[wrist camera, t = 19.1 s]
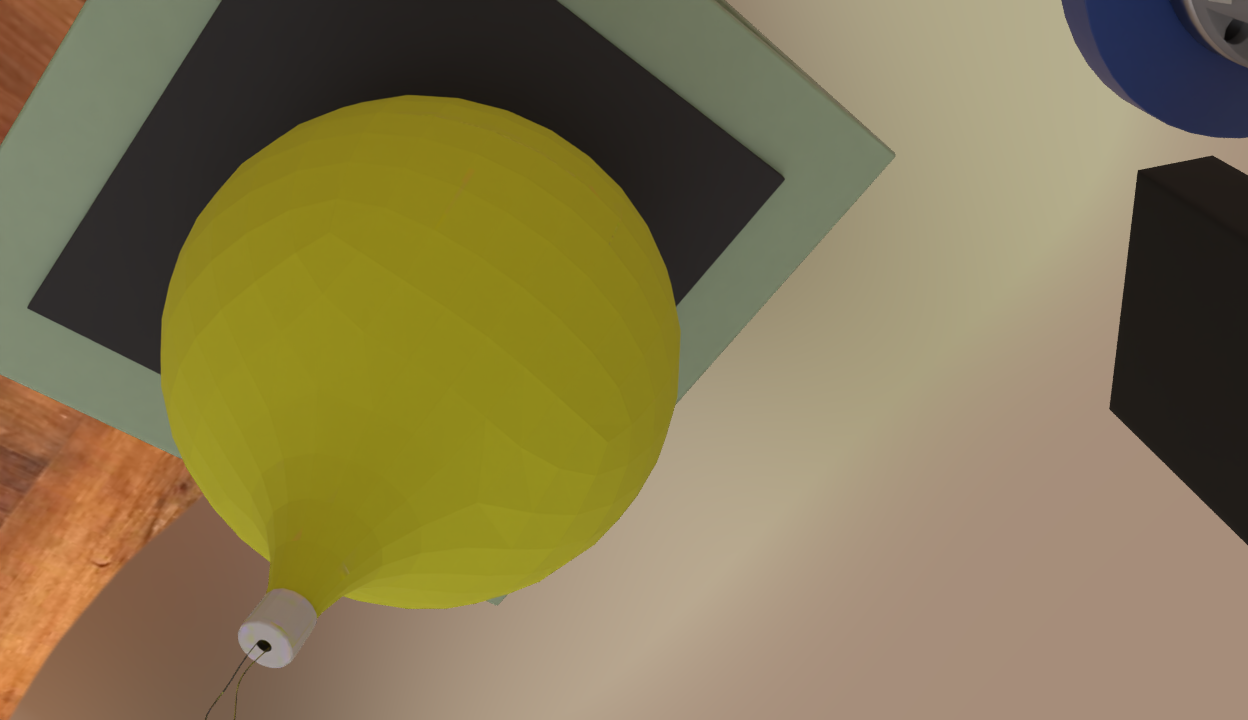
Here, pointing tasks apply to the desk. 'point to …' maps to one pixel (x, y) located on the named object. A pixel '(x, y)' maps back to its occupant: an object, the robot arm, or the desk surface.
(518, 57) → the shelf
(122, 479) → the desk surface
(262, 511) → the ornament
